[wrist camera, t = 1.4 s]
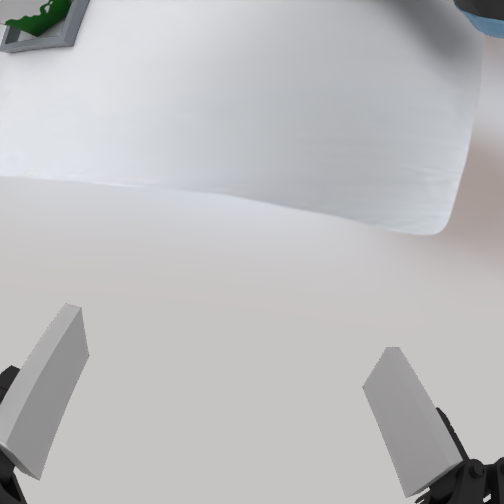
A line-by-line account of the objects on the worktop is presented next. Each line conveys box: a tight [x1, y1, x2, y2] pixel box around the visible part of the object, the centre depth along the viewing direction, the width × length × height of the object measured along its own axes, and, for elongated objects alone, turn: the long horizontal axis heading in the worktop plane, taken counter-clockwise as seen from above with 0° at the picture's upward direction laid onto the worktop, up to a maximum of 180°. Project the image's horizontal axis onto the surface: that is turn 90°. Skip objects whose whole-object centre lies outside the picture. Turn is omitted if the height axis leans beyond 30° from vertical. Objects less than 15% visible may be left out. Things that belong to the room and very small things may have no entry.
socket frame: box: [0, 0, 89, 53], centre depth 22 cm, size 14×14×3 cm
